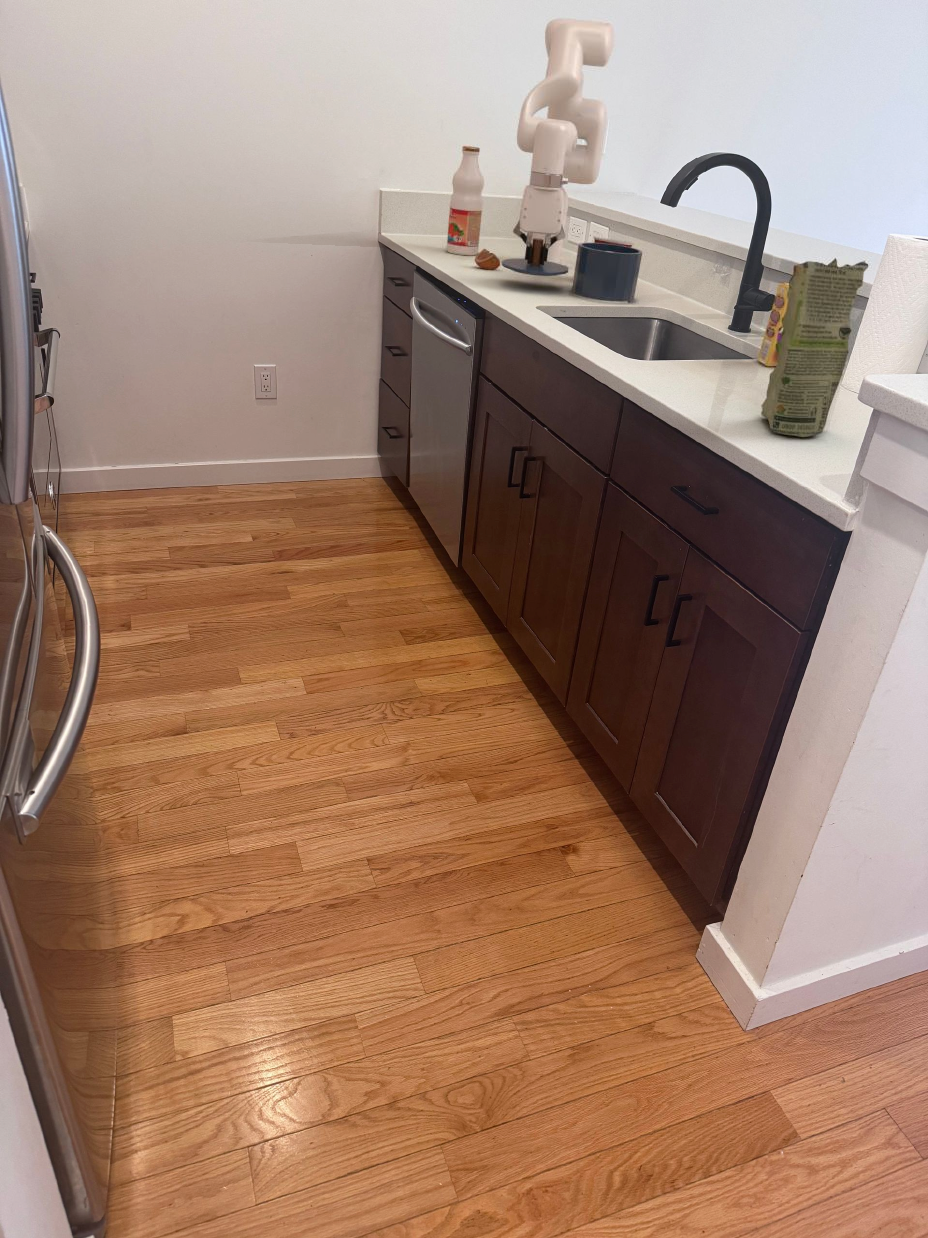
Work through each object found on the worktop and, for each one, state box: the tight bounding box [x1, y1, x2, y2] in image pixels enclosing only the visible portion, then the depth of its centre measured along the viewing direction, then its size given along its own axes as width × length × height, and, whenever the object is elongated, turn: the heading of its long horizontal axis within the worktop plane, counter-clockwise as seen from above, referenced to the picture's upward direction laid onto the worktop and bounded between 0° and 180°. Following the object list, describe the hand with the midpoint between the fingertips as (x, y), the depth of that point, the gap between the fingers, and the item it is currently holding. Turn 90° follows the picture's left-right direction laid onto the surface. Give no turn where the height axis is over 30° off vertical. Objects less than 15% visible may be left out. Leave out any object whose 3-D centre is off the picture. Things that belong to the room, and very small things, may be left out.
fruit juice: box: [446, 145, 485, 256], centre depth 254 cm, size 9×9×28 cm
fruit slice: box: [474, 248, 501, 271], centre depth 237 cm, size 8×7×5 cm
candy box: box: [757, 281, 789, 367], centre depth 171 cm, size 9×4×15 cm, turn 103°
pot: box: [571, 241, 643, 304], centre depth 218 cm, size 16×16×12 cm
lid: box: [501, 238, 569, 277], centre depth 215 cm, size 17×17×7 cm
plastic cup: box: [592, 235, 635, 248], centre depth 232 cm, size 11×11×12 cm
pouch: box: [760, 257, 870, 438], centre depth 132 cm, size 11×12×25 cm
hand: (535, 262), depth 216 cm, fingers closed on lid, 2 cm apart
